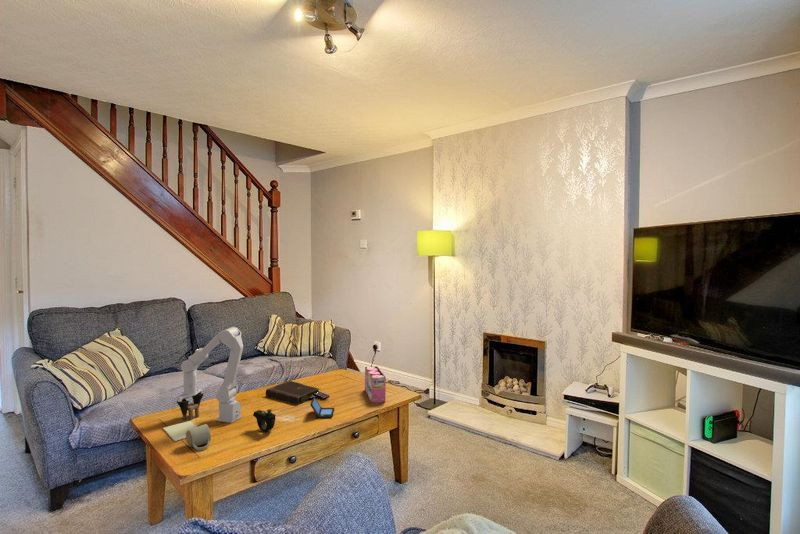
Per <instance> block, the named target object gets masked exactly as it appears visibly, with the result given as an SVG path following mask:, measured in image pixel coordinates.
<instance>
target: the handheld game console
mask: <svg viewBox="0 0 800 534" xmlns="http://www.w3.org/2000/svg"><path fill="white" fill-rule="evenodd" d="M310 401H311V402H310V406H311V408H312V411H314V413H315V415H316V418H321V419H332V418H333V416H334V414H333V413H335V407H322V406H321V404H320V402H318V400H317V398H315V397H313V399H312V400H310ZM331 417H332V418H331Z"/></svg>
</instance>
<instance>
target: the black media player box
mask: <svg viewBox="0 0 800 534" xmlns="http://www.w3.org/2000/svg"><path fill="white" fill-rule="evenodd" d="M320 390H321V388H319V387H314V386H309V385H306V384H304V383H301V382H298V381H297V382H296V381H293V380H287V381H284V382H282V383H279V384H276V385H274V386H271V387H270V388H266V391H265V396H266V397H267V396H268V398H271V397H272V398H271V399H275V400H278V399H279V400H278V401H283V402H285V401H286V402H285V403H289V402H290V403H289V404H294V405H296V404H299V403H300V402H302V403H304V402H303V401H305V400H307V401H309V400H308V399H309V398H310V397H311V396H312V395H313V394H314V393H317V392H318V393H319V391H320ZM305 402H306V401H305ZM300 404H301V403H300ZM300 404H299V405H300Z"/></svg>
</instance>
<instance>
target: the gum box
mask: <svg viewBox="0 0 800 534" xmlns="http://www.w3.org/2000/svg"><path fill="white" fill-rule="evenodd" d="M386 381H387V379H386V376H385V374H384V372H382V371H381V369H380V368H379V367H378V366H376V365H375V366H374V367H367V366H365V367H364V391H365V393H366V392H367V393H366V394H368V395H367V396H369V397H368V399H369V401H370V402H371V403H372V402H373V403H384V402H383V401H385V402H386V389H387V388H386V384H387V382H386Z"/></svg>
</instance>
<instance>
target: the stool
mask: <svg viewBox="0 0 800 534" xmlns="http://www.w3.org/2000/svg"><path fill="white" fill-rule="evenodd" d="M199 408H200V405H199V404H194V403H190V402H189V403H188V407H187V412H188V416H187V414H186V415H183V414H182V419H183V420H187V417H188V421H193V419H194V417H195V418H199V415H200V410H199ZM193 414H194V415H193Z"/></svg>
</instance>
